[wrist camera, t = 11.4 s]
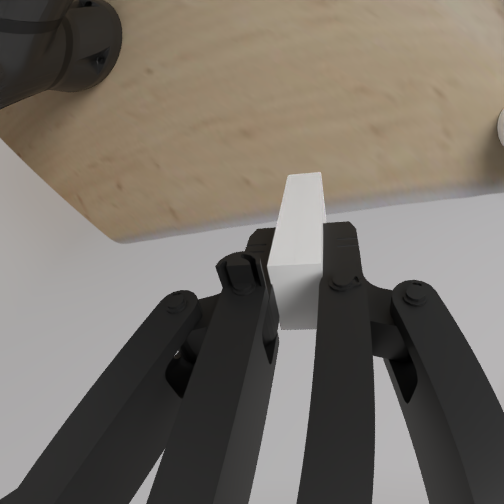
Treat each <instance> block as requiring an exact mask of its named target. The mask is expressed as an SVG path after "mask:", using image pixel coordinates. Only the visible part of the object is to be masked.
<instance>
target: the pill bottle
mask: <svg viewBox="0 0 504 504" xmlns="http://www.w3.org/2000/svg"><path fill="white" fill-rule="evenodd" d="M497 130H498V136H499V139H500V142H501V144H502V145H503V147H504V109H503V110H502V111H501V113H500V116H499V119H498V125H497Z"/></svg>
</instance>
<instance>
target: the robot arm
mask: <svg viewBox="0 0 504 504" xmlns="http://www.w3.org/2000/svg"><path fill="white" fill-rule="evenodd" d="M121 44H122V27H121V22H120V19H119V17H118V14H117V13H116V11H115V10H114V8H113V7H112V6H111V5H110V4H108V3H107V2H105V1H103V0H0V109H2V108H4V107H7V106H9V105H11V104H13V103H16V102H18V101H20V100H23V99H25V98H27V97H30V96H32V95H35V94H37V93H40V92H42V91H45V90H56V91H64V92H77V91H81V90H84V89H87V88H90V87H93V86H95V85H96V84H98V83H99V82H101V81H102V80H103V79H104V78H105V77H106V76H107V75H108V74H109V72H110V71H111V70H112V68H113V66H114V65H115V63H116V61H117V58H118V56H119V53H120V49H121ZM216 270H217V273H218V275H219V278H220V281H221V284H222V287H223V289H222V292H221V293H220V294H217V295H214V296H210V297H206V298H203V299H199V300H198V299H197V297H196V295H195V294H194V293H193V292H191V291H188V290H180V291H176V292H173V293H171V294H169V295H167V296H166V297H165V298H164V299H163V300H161V301H160V303H159V304H158V305H157V306H156V308H155V309H154V310H153V311H152V312H151V313H150V315H149V316H148V317H147V318H146V320H145V321H144V322H143V324H141V326H140V327H139V328H138V329H137V331H136V332H135V333H134V334H133V336H132V337H131V338H130V339H129V340H128V342H127V343H126V344H125V345H124V347H123V348H122V349H121V350H120V352H119V353H118V354H117V356H116V357H115V358H114V359H113V361H112V362H111V363H110V364H109V366H108V367H107V368H106V369H105V371H104V372H103V373H102V374H101V376H100V377H99V378H98V380H97V381H96V382H95V384H94V385H93V386H92V387H91V389H90V390H89V391H88V392H87V394H86V395H85V396H84V398H83V399H82V401H81V402H80V403H79V404H78V406H77V407H76V408H75V410H74V411H73V412H72V414H71V415H70V416H69V418H68V419H67V420H66V421H65V423H64V424H63V426H62V427H61V428H60V430H59V431H58V433H57V434H56V435H55V436H54V438H53V439H52V441H51V442H50V443H49V445H48V446H47V447H46V449H45V450H44V451H43V453H42V454H41V456H40V457H39V458H38V460H37V461H36V463H35V464H34V465H33V467H32V468H31V470H30V471H29V473H28V474H27V475H26V477H25V478H24V480H23V481H22V483H21V484H20V485H19V487H18V488H17V489H16V490H14V491H13V492H11V493H10V494H8V495H7V496H5V497H4V498H2V499H1V500H0V504H129V503H130V501H131V500H132V498H133V497H134V495H135V494H136V492H137V491H138V489H139V488H140V486H141V485H142V483H143V482H144V480H145V478H146V477H147V475H148V474H149V472H150V471H151V469H152V468H153V466H154V465H155V463H156V461H157V460H158V458H159V457H160V455H161V454H162V452H163V451H164V449H165V451H164V454H163V456H162V459H161V462H160V465H159V468H158V471H157V474H156V477H155V480H154V483H153V486H152V489H151V491H150V495H149V498H148V500H147V503H146V504H248V502H249V498H250V493H251V489H252V484H253V479H254V475H255V470H256V465H257V460H258V455H259V451H260V446H261V441H262V435H263V430H264V425H265V420H266V415H267V409H268V404H269V399H270V393H271V387H272V381H273V376H274V370H275V365H276V359H277V353H278V347H279V337H278V333H277V330H278V323H279V322H280V326H281V330H292V329H294V330H296V329H317V332H316V347H315V360H314V372H313V382H312V392H311V402H310V411H309V421H308V429H307V437H306V444H305V452H304V459H303V466H302V473H301V480H300V486H299V492H298V498H297V504H372V494H373V478H374V454H375V451H374V450H375V400H374V399H375V398H374V397H375V396H374V370H373V356H377V357H382V358H383V359H384V362H385V365H386V368H387V370H388V373H389V376H390V378H391V381H392V384H393V387H394V390H395V392H396V395H397V398H398V401H399V404H400V407H401V410H402V412H403V415H404V418H405V421H406V424H407V428H408V431H409V433H410V437H411V440H412V443H413V446H414V449H415V453H416V456H417V460H418V463H419V467H420V470H421V474H422V477H423V481H424V485H425V488H426V492H427V496H428V500H429V504H504V412H503V410H502V408H501V405H500V403H499V401H498V399H497V397H496V395H495V393H494V391H493V389H492V387H491V385H490V383H489V381H488V379H487V377H486V375H485V373H484V371H483V369H482V367H481V365H480V364H479V362H478V360H477V358H476V356H475V354H474V353H473V351H472V349H471V347H470V346H469V344H468V342H467V340H466V339H465V337H464V335H463V333H462V332H461V330H460V329H459V327H458V325H457V323H456V322H455V320H454V319H453V317H452V316H451V314H450V312H449V311H448V309H447V307H446V306H445V304H444V303H443V301H442V300H441V298H440V297H439V295H438V294H437V292H436V291H435V290H434V289H433V287H432V286H431V285H429V284H427V283H425V282H422V281H417V280H408V281H404V282H402V283H399V284H398V285H397V286H396V287H395V288H394V289H393V290H388V289H382V288H379V287H376V286H374V285H372V284H370V283H369V282H368V281H367V280H366V279H365V277H364V276H363V273H362V266H361V258H360V251H359V246H358V239H357V232H356V228H355V227H354V226H353V225H352V224H351V223H350V222H335V223H326V213H325V204H324V194H323V186H322V177H321V172H316V173H304V174H294V175H288V178H287V182H286V186H285V191H284V195H283V200H282V204H281V208H280V213H279V217H278V221H277V226H276V228H263V229H257V230H256V231H255V232H254V233H253V234H252V235H251V236H250V238H249V241H248V244H247V247H246V249H245V252H243V251H242V252H236V253H232V254H230V255H228V256H225V257H224V258H223V259H221V260H220V261H219V262H218V264H217V265H216ZM177 351H179V352H178V353H177ZM176 353H177V354H176ZM175 354H176V355H175Z"/></svg>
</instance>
